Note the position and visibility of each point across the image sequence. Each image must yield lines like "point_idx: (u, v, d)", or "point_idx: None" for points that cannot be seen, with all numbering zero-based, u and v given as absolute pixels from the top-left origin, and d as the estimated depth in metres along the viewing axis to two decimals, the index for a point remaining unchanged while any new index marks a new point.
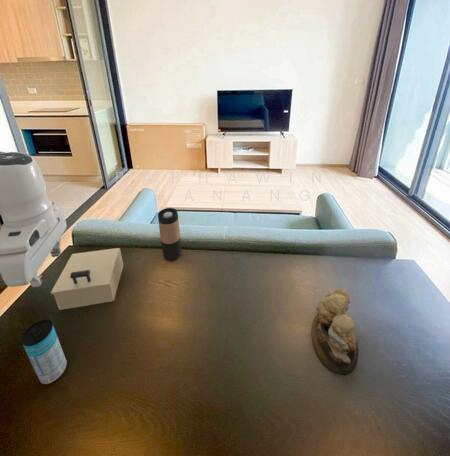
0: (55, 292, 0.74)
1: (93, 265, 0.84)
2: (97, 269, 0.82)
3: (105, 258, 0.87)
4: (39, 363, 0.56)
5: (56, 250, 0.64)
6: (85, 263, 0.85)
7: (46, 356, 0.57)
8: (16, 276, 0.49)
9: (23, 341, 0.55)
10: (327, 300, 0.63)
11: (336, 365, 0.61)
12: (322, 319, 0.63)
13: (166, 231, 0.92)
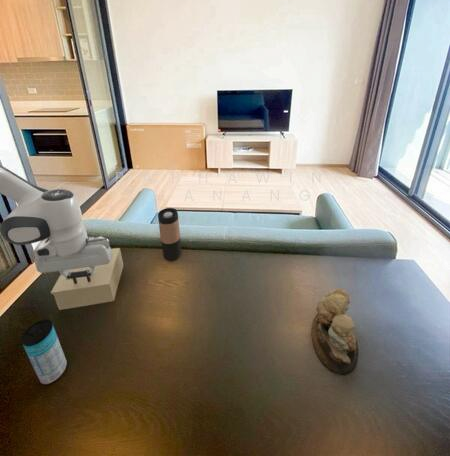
0: (55, 292, 0.74)
1: None
2: (97, 269, 0.82)
3: None
4: (39, 363, 0.56)
5: (88, 272, 0.76)
6: None
7: (46, 356, 0.57)
8: None
9: (23, 341, 0.55)
10: (327, 300, 0.63)
11: (336, 365, 0.61)
12: (322, 319, 0.63)
13: (166, 231, 0.92)
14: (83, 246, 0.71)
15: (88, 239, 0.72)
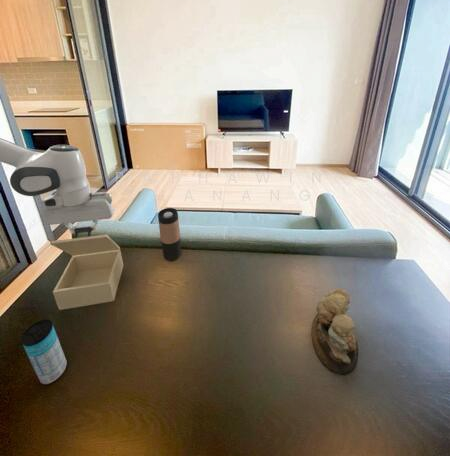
0: (54, 241, 0.76)
1: None
2: None
3: None
4: (39, 363, 0.56)
5: (91, 226, 0.81)
6: None
7: (46, 356, 0.57)
8: None
9: (23, 341, 0.55)
10: (327, 300, 0.63)
11: (336, 365, 0.61)
12: (322, 319, 0.63)
13: (166, 231, 0.92)
14: (87, 199, 0.76)
15: (92, 193, 0.78)
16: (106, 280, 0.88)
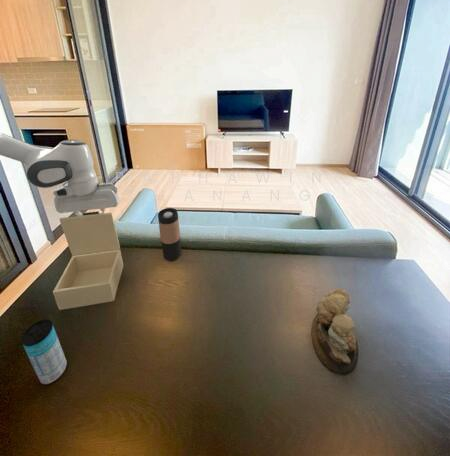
0: (64, 218, 0.83)
1: None
2: None
3: None
4: (39, 363, 0.56)
5: None
6: None
7: (46, 356, 0.57)
8: None
9: (23, 341, 0.55)
10: (327, 300, 0.63)
11: (336, 365, 0.61)
12: (322, 319, 0.63)
13: (166, 231, 0.92)
14: (95, 189, 0.84)
15: (99, 184, 0.85)
16: (106, 280, 0.88)
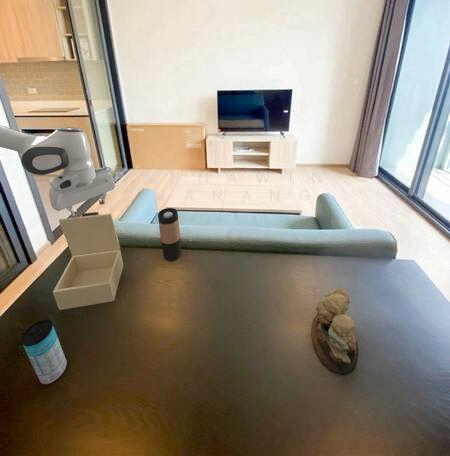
0: (63, 219, 0.82)
1: None
2: None
3: None
4: (39, 363, 0.56)
5: (101, 200, 0.89)
6: None
7: (46, 356, 0.57)
8: (52, 202, 0.77)
9: (23, 341, 0.55)
10: (327, 300, 0.63)
11: (336, 365, 0.61)
12: (322, 319, 0.63)
13: (166, 231, 0.92)
14: (95, 174, 0.84)
15: (96, 170, 0.86)
16: (106, 280, 0.88)
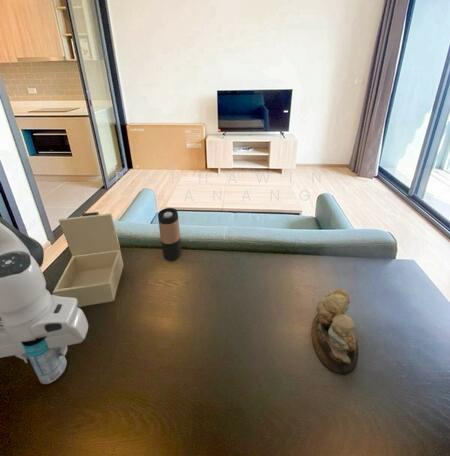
0: (63, 219, 0.82)
1: None
2: None
3: None
4: (38, 363, 0.56)
5: None
6: None
7: (46, 356, 0.57)
8: (84, 324, 0.59)
9: None
10: (327, 300, 0.63)
11: (336, 365, 0.61)
12: (322, 319, 0.63)
13: (166, 231, 0.92)
14: None
15: None
16: (106, 280, 0.88)
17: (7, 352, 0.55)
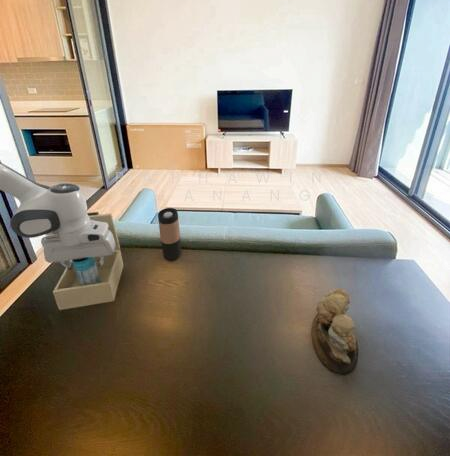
0: None
1: None
2: None
3: None
4: (83, 276, 0.79)
5: (71, 263, 0.80)
6: None
7: (88, 272, 0.79)
8: (113, 242, 0.80)
9: None
10: (327, 300, 0.63)
11: (336, 365, 0.61)
12: (322, 319, 0.63)
13: (166, 231, 0.92)
14: None
15: (59, 233, 0.76)
16: (106, 280, 0.88)
17: (59, 258, 0.76)
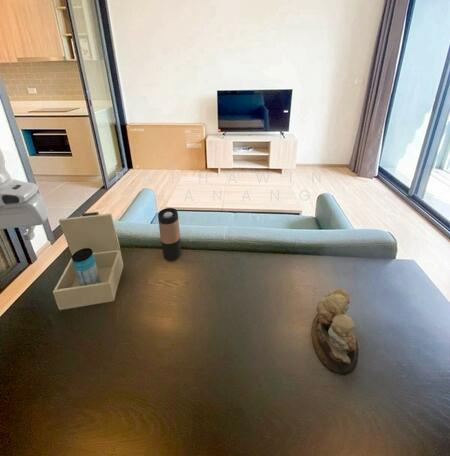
0: (63, 219, 0.82)
1: None
2: None
3: None
4: (83, 276, 0.79)
5: None
6: None
7: (88, 272, 0.79)
8: (45, 209, 0.62)
9: (73, 259, 0.77)
10: (327, 300, 0.63)
11: (336, 365, 0.61)
12: (322, 319, 0.63)
13: (166, 231, 0.92)
14: None
15: None
16: (106, 280, 0.88)
17: None
